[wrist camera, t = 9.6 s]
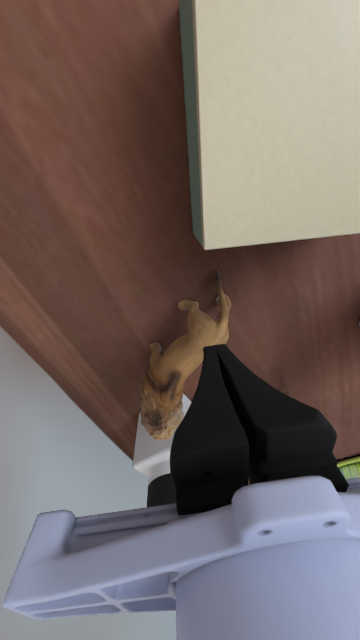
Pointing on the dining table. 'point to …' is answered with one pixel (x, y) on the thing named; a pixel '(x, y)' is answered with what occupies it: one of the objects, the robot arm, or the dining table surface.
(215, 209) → the lid
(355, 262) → the dining table surface
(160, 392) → the lion figurine
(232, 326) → the dining table surface
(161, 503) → the medicine bottle
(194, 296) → the dining table surface
